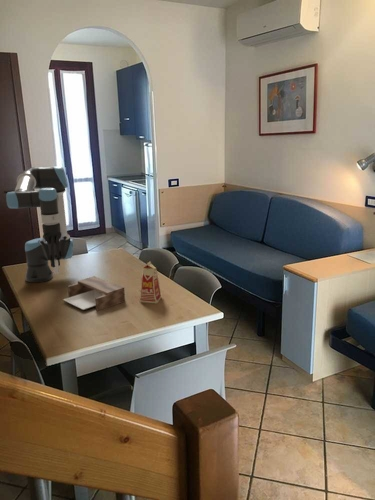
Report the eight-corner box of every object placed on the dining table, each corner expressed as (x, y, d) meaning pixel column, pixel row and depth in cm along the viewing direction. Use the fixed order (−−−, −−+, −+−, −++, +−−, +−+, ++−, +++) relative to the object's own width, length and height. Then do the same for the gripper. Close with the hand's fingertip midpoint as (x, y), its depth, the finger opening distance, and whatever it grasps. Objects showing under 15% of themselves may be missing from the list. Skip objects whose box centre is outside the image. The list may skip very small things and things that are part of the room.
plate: (83, 313, 191) (83, 309, 191) (62, 303, 204) (62, 299, 203) (116, 301, 204) (115, 297, 204) (94, 292, 217) (94, 289, 216)
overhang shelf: (97, 310, 193) (96, 296, 191) (68, 296, 211) (67, 283, 209) (125, 301, 204) (124, 287, 202) (95, 288, 222) (94, 276, 220)
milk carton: (156, 303, 201) (155, 264, 195) (138, 302, 203) (136, 263, 197) (161, 296, 209) (160, 258, 204) (144, 295, 211) (142, 258, 206)
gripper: (41, 226, 176) (47, 278, 182) (68, 221, 185) (73, 271, 191) (33, 224, 181) (39, 274, 188) (59, 219, 190) (64, 268, 196)
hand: (56, 273), depth 189 cm, fingers closed
